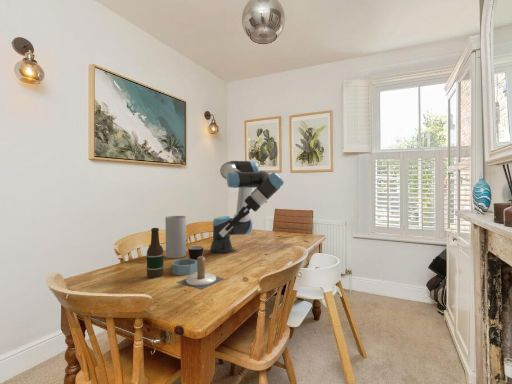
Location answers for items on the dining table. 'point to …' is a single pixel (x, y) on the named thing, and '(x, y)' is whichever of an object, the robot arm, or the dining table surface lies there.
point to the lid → (200, 275)
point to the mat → (200, 286)
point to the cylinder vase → (175, 236)
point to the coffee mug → (195, 252)
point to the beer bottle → (155, 256)
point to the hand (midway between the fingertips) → (223, 232)
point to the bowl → (184, 267)
